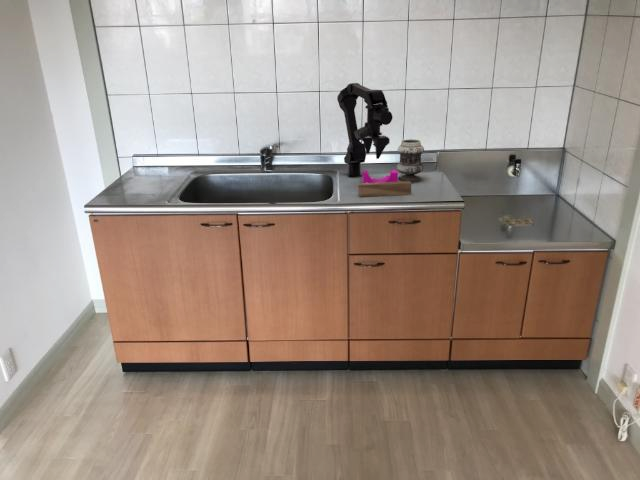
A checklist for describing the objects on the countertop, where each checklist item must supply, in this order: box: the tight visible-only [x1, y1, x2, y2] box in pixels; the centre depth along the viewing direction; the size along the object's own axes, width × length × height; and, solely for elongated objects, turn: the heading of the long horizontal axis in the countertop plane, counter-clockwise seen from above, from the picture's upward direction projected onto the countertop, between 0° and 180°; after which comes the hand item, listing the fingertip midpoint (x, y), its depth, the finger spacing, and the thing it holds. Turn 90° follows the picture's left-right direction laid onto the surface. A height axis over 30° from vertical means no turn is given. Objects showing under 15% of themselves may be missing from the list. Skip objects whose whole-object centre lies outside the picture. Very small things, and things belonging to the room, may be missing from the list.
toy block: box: [362, 169, 399, 183], centre depth 224 cm, size 15×6×8 cm, turn 87°
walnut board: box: [357, 180, 412, 198], centre depth 214 cm, size 3×22×5 cm, turn 96°
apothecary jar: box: [396, 138, 425, 183], centre depth 231 cm, size 12×12×18 cm
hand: (372, 156), depth 224 cm, fingers open, 9 cm apart
